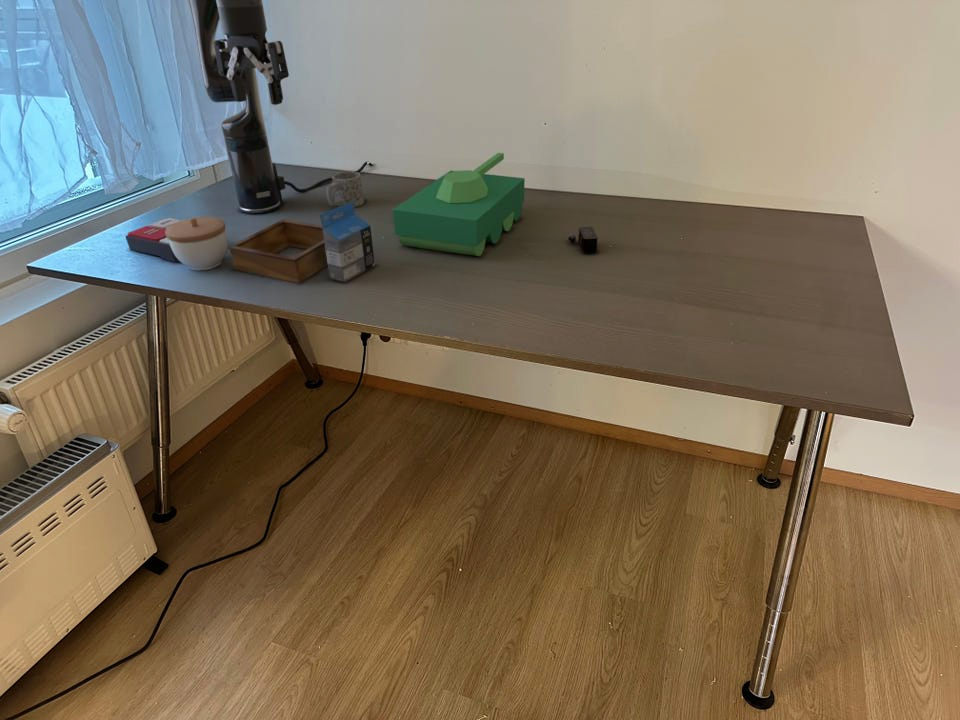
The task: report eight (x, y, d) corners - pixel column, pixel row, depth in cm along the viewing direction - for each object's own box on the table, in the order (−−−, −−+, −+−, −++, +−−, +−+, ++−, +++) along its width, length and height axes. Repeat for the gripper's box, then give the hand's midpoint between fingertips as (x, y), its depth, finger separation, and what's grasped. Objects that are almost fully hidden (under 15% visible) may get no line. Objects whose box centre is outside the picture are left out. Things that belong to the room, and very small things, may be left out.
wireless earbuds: (590, 240, 135) (591, 225, 134) (596, 254, 129) (598, 238, 128) (567, 241, 135) (568, 225, 134) (573, 255, 129) (574, 239, 128)
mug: (350, 196, 163) (346, 169, 159) (369, 201, 159) (366, 174, 156) (319, 208, 156) (315, 180, 152) (339, 213, 152) (335, 185, 149)
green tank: (536, 151, 148) (475, 201, 121) (535, 204, 155) (477, 262, 127) (464, 145, 154) (390, 190, 127) (465, 196, 160) (396, 250, 133)
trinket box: (244, 256, 133) (234, 211, 128) (210, 278, 124) (198, 231, 119) (199, 250, 136) (187, 206, 131) (164, 272, 127) (149, 225, 122)
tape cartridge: (344, 283, 121) (335, 219, 114) (329, 279, 123) (318, 215, 116) (376, 265, 127) (368, 203, 121) (360, 261, 129) (352, 200, 122)
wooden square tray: (287, 240, 139) (283, 219, 137) (349, 251, 133) (346, 229, 131) (233, 269, 127) (228, 246, 125) (299, 283, 122) (294, 259, 119)
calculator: (168, 215, 143) (214, 223, 136) (174, 234, 145) (220, 243, 138) (122, 232, 135) (169, 242, 128) (129, 252, 138) (176, 262, 131)
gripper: (286, 2, 114) (302, 101, 123) (224, 1, 119) (243, 96, 128) (256, 5, 108) (275, 109, 117) (192, 4, 114) (215, 104, 122)
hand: (258, 102), depth 122 cm, fingers open, 8 cm apart
